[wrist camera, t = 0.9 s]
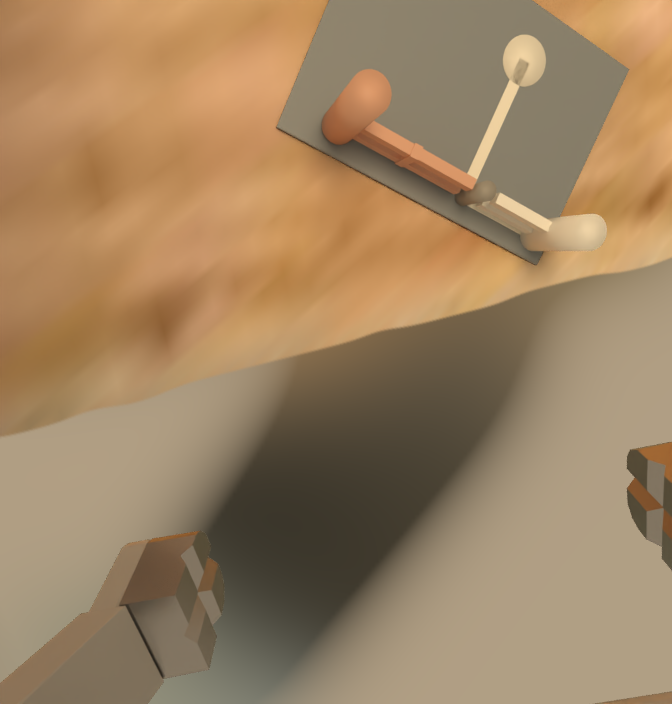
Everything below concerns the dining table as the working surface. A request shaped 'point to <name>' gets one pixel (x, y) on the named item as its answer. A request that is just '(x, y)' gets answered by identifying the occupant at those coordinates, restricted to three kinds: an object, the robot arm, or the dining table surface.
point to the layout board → (464, 99)
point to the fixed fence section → (537, 222)
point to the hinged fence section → (385, 132)
